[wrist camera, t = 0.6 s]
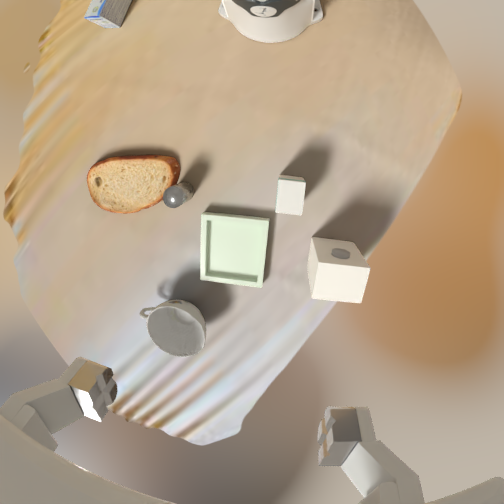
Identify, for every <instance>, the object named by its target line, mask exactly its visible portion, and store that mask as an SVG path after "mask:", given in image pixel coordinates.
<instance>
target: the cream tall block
mask: <svg viewBox="0 0 504 504" xmlns="http://www.w3.org/2000/svg"><path fill="white" fill-rule="evenodd" d="M307 270H308V277H309V283H310V290H311V297H312V299H321V300H332V301H342V302H354V303H361V301H362V298H363V294H364V291H365V287H366V283H367V280H368V276H369V272H370V267H369V265H368V264H367V262H366V260H365V259H364V257H363V256H362V254H361V253H360V251H359V250H358V248H357V247H356V245H355V244H354V242H350V241H342V240H334V239H326V238H318V237H312V239H311V245H310V251H309V258H308V264H307Z"/></svg>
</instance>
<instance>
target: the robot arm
mask: <svg viewBox="0 0 504 504" xmlns="http://www.w3.org/2000/svg"><path fill="white" fill-rule="evenodd" d="M314 10H317V12H315V11H314ZM218 11H219V14H220V16H222V17H223V18H225V19H227V20H229V21H231V22H232V24H233V25H234V26H235V28H236V29H237V30H238V31H239V32H240V33H241V34H243V35H244V36H246V37H248V38H250V39H253V40H256V41H260V42H267V43H275V42H282V41H286V40H289V39H292V38H294V37H296V36H297V35H299V34H300V33H302V32H303V31H304V30H305V29H306V28H307V27H308V26H309V25H311V24H314V23H317V22H319V21H321V20H322V19H323V12H322V8H321V4H320V0H222V2H221V5H220V7H219V10H218ZM113 375H114V374H113V372H112V369H111V368H108V367H106V366H103V365H100V364H98V363H95V362H93V361H90V360H87V359H85V358H82V357H78V358H76V359H75V360H74V362H73V363H72V364H71V365H70V366H69V367H68V368H67V370H66V371H65V372H64V373H63V374H62V375H61V377H60V378H59V379H58V380H57V379H53V380H50V381H48V382H45V383H42V384H39V385H36V386H34V387H31V388H28V389H25V390H22V391H19V392H16V393H13V394H12V395H11V396H10V397H9V399H8V400H7V401H6V402H5V403H4V404H3V405H2V407H1V408H0V504H175V503H171V502H168V501H165V500H161V499H158V498H155V497H152V496H148V495H146V494H143V493H140V492H137V491H134V490H132V489H129V488H126V487H124V486H121V485H119V484H116V483H114V482H112V481H109V480H107V479H105V478H102V477H100V476H98V475H96V474H94V473H92V472H90V471H88V470H86V469H84V468H82V467H80V466H78V465H76V464H74V463H72V462H70V461H69V460H67V459H65V458H63V457H62V456H60V455H58V454H56V453H55V452H54V451H55V449H56V448H57V446H58V444H57V441H56V440H55V439H54V437H53V436H52V434H53V433H55V432H57V431H59V430H61V429H62V428H64V427H66V426H68V425H70V424H71V423H73V422H75V421H77V420H78V419H80V418H82V417H83V416H84V415H85V416H88V417H90V418H92V419H95V420H97V421H100V422H101V421H102V420H103V418H104V416H105V415H106V413H107V412H108V408H107V406H108V405H110V404H112V403H113V402H114V400H115V398H116V395H117V384H116V382H115V381H114V380H113V379H112V376H113ZM318 443H319V444H320V445H321V447H320V449H319V451H318V458H319V466H341V468H342V469H343V471H344V472H345V473H346V475H347V476H348V477H349V479H350V480H351V481H352V483H353V484H354V485H355V487H356V488H357V489H358V491H359V492H360V493H361V494H362V496H363V497H364V499H363V500H362V501H361V502H359V503H358V504H504V479H503V478H501V477H495V478H492V479H490V480H487V481H485V482H483V483H481V484H479V485H476V486H474V487H471V488H469V489H466V490H464V491H461V492H459V493H456V494H453V495H450V496H447V497H444V498H441V499H438V500H435V501H432V502H428V503H425V502H424V498H423V493H422V489H421V484H420V480H419V476H418V475H417V474H416V473H415V472H414V471H413V470H411V469H410V468H409V467H408V466H407V465H406V464H405V463H404V462H403V461H402V460H400V459H399V458H398V457H397V456H396V455H395V454H394V453H393V452H392V451H391V450H390V449H388V448H387V447H386V446H385V445H384V444H383V443H382V442H381V441H376V437H375V432H374V428H373V424H372V419H371V416H370V411H369V408H368V407H327V408H326V410H325V418H324V419H322V420H321V422H320V424H319V428H318Z"/></svg>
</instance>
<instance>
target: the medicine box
mask: <svg viewBox="0 0 504 504" xmlns="http://www.w3.org/2000/svg"><path fill="white" fill-rule="evenodd" d="M131 2H132V0H92V1H91V3H90V6H89V8H88V10H87V12H86V14H85V17H84V18H85V19H88V20H90V21H92V22H94V23H96V24H98V25H100V26H102V27H104V28H120V27H121V24H122V22H123V20H124V17H125V15H126V13H127V10H128V8H129V6H130V4H131Z"/></svg>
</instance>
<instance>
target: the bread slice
mask: <svg viewBox="0 0 504 504" xmlns="http://www.w3.org/2000/svg"><path fill="white" fill-rule="evenodd" d="M179 174H180V166H179V163H178V162H177V160H176V159H175V158H173V157H167V156H161V155H139V156H119V157H111V158H107V159H105V160H103V161H100V162H98V163H96V164H94V165H93V166H92V167H91V168H90V170H89V172H88V175H87V184H88V188H89V191H90V195H91V197H92V199H93V201H94V202H95V203H96V204H97V205H98V206H99V207H100V208H102V209H104V210H107V211H110V212H114V213H133V212H138V211H140V210H141V209H146V208H149V207H151V206H154V205H155V204H157V203H159V202H160V201H162V200H163V193H164V191H165V190H166V189H167V188H169V187H171V186H174V185H176V184H177V181H178V178H179Z"/></svg>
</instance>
